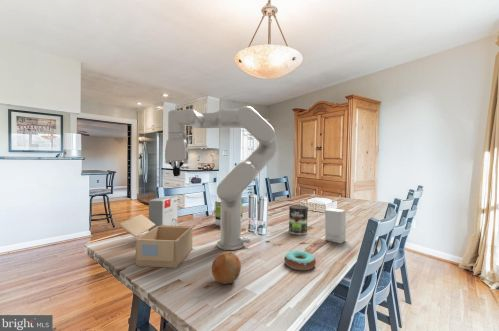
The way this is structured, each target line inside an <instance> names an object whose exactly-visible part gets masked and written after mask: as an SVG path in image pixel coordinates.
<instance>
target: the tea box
mask: <svg viewBox="0 0 499 331" xmlns="http://www.w3.org/2000/svg"><path fill="white" fill-rule="evenodd" d="M214 205H215V206H214V208H215V212H214V213H215V216H214V218H215V221H214V222H215V225H216V226H219V227H220V215H221V199H220V200H216V201H215V202H214ZM241 223H243V199H242V198H241Z"/></svg>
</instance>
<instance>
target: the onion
mask: <svg viewBox="0 0 499 331" xmlns="http://www.w3.org/2000/svg"><path fill="white" fill-rule="evenodd" d="M241 268H242V265H241V260H240V259H239V257H238V255H237V254H235V253H234V252H232V251H231V250H225V251H223V252H222V253H219V254H218V255H216V256H215V258H214V259H213V261H212V263H211V274H212V276H213V278H214V280H215V281H216V282H218V283H219V284H223V285H229V284H231V283H234V282H235V281H237V279H238V278H239V276H240V274H241V270H242V269H241Z"/></svg>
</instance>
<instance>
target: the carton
mask: <svg viewBox="0 0 499 331" xmlns="http://www.w3.org/2000/svg"><path fill="white" fill-rule="evenodd" d="M191 227H192V226H191V225H177V226H175V225H160V226H157V227H155V228H154V229H152V230H150V231H149V232H148V231H146V232H145V233H144V234H142V235H141V236H138V237H137V238H135V266H136V267H150V268H151V267H155V268H171V269H173V268H174V269H177V268H178V267H179V266H180V265H181V264H182V263H183V262H184V260H185V259H186V258H187V256H188V255H189V254H190V253H191V252H192V251H193V228H192V229H191V230H190V231H189V232H188V233H187V234H185V235H184V236H183V237H182V238H181V239H179V238H180V237H181V236H182V235H183V234H184V233H185V232H187V231H188V230H189V229H190V228H191Z"/></svg>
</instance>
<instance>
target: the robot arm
mask: <svg viewBox="0 0 499 331" xmlns="http://www.w3.org/2000/svg"><path fill="white" fill-rule="evenodd" d="M167 123H168V124H167V127H168V128H167V133H168V134H167V136H168V137H167V139H166V143H165V149H164V159H165V160H164V161H165V162H164V163H165V164H167V165H170V167H171V168H172V174H173V177H180V175H181V167H182V166H183V165H186V164H189V158H190V157H189V156H190V155H189V147H188V146H189V145H188V141H187V140H186V138H189V135H188V134H186V126H189V127H192V128H194V129H225V128H227V129H230V128H231V129H232V128H233V129H235V128H236V129H237V128H238V129H239V128H240V129H245V130H246V131H247V132H248V133H249V135H251V136H252V137H253V138H254V139H255V140H257V142H258V146H257V147H256V149H255V150H253V152H251V154H250V155H249V156H248V157H247V158H246V159H245V160H244V161H242V162H239V163H238V164H237V165H236V166H235V167H234V168H233V169H232V170H231V171H230V172H229V173H228V174H227V175H226V176H225V177H224V178H223V179H222V180H221V181H220V183H219V184H218V185H217V187H216V195H217V197H218V198H219V199H220V200H221V215H220V226H219V228H220V232H219V233H220V235H219V238H220V239H219V241H217V242H216V247H217V248H219V249H221V250H224V251H234V250H236V251H237V250H240V249H242V248H243V247H244V246H245V244H251V238H249V237H244V236H243V234H242V233H241V231H242V229H241V228H242V226H241V225H242V222H241V199H242V198H243V197H242V195H243V192H244V191H245V190H246V189H247V188H248V187H249V186H250V185H251V184H252V182H254V180H256V177H257V176H258V174H260V173H261V171H263V169H264V168H265V167H266V166H267V164H269V163H270V161H271V160H272V159H274V156H275V154H276V152H277V148H278V140H277V137H276V131H275V128H274V127H273V126H272V125H271V124H270V123H269V122H268V121H267V120H266V119H265V118H264V117H262V115H260V113H259V112H258V111H257V110H255V109H254V107H252V106H250V105H249V106H248V105H243V106H241V107H239V108H221V109H218V111H213V112H209V113H208V112H198V111H196V110H195V109H193V108H187V109H179V110H178V109H171V110H169V111H168V114H167Z"/></svg>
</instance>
